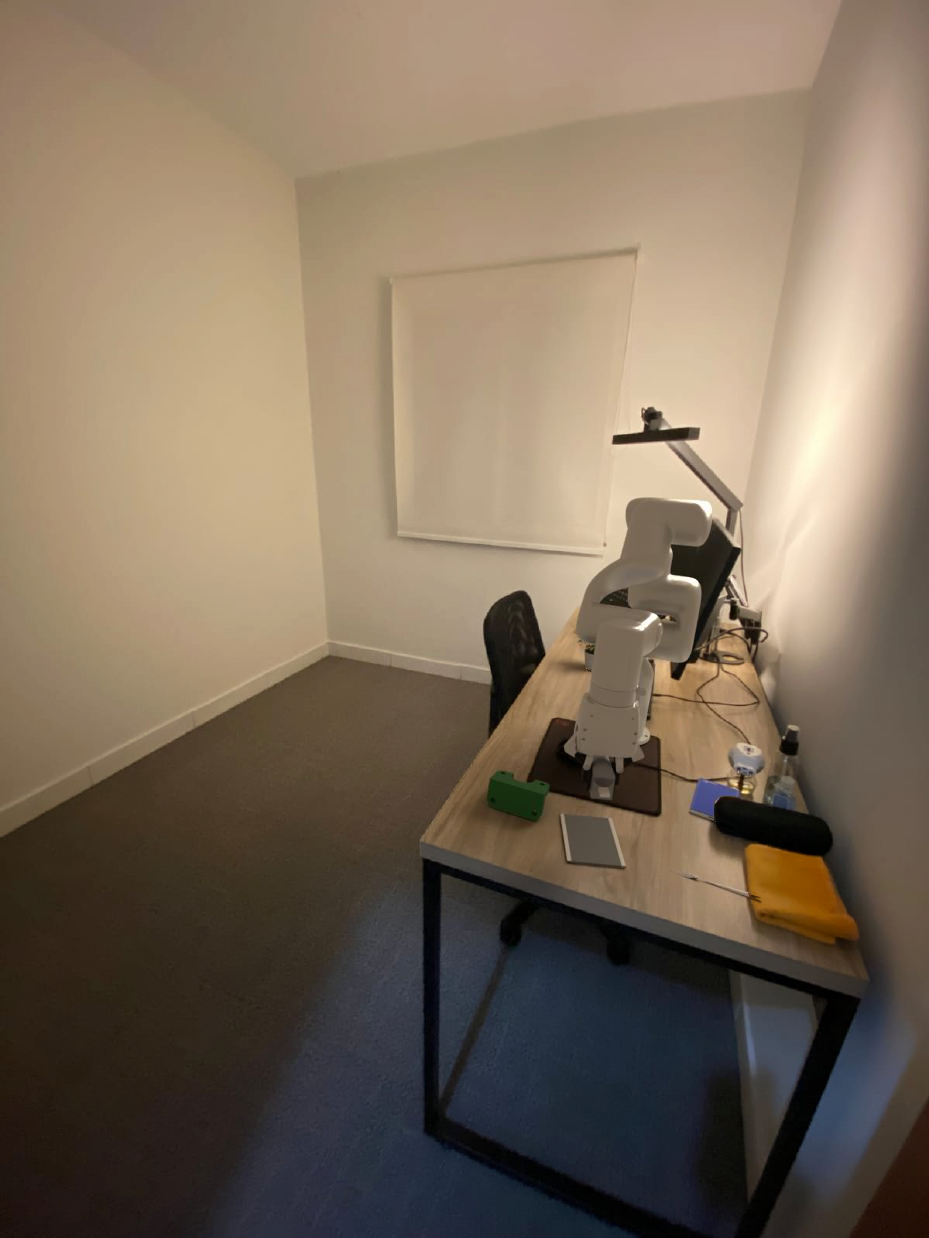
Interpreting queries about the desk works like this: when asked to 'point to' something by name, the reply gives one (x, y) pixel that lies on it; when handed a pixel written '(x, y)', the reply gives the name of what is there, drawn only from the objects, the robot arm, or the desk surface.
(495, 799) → the clamp
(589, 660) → the house plant
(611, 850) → the mat
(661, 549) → the robot arm
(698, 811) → the hard drive
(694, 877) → the stylus
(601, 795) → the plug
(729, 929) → the desk surface
